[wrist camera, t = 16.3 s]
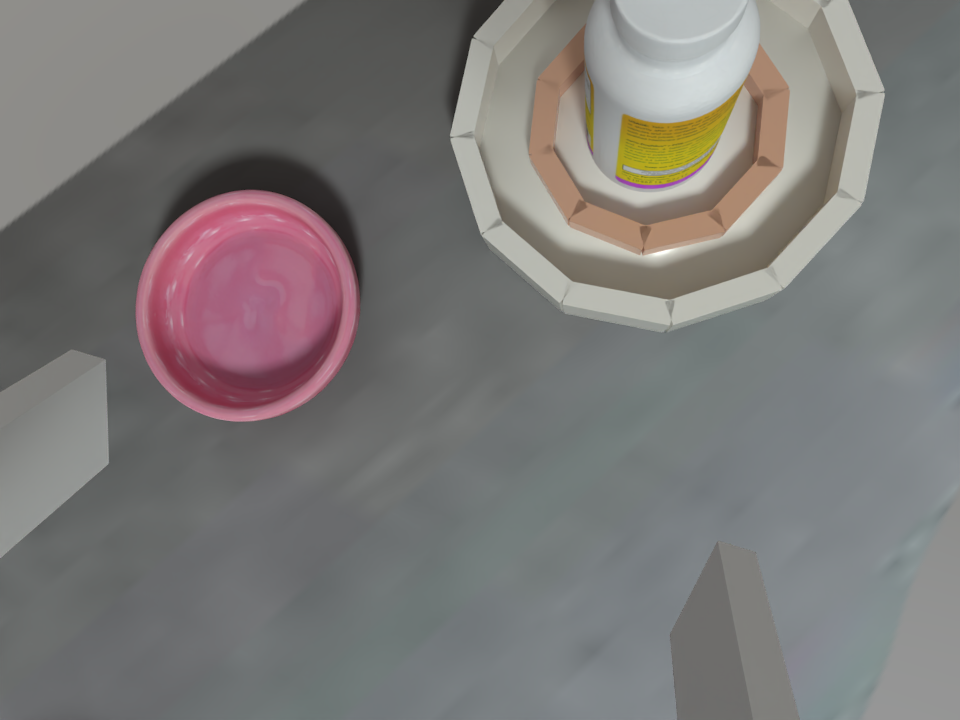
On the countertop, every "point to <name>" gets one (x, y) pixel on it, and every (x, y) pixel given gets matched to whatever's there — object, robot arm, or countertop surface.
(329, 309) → the saucer
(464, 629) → the countertop surface
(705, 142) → the supplement bottle
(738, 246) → the ceramic tray
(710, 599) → the robot arm
